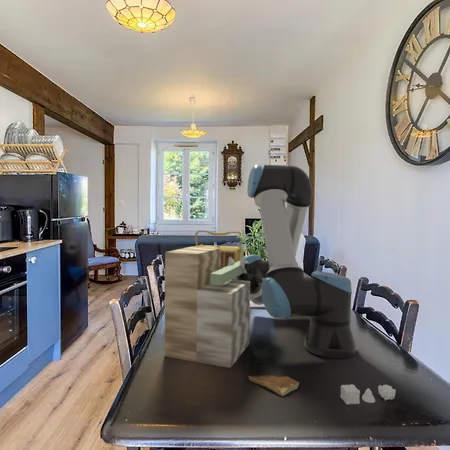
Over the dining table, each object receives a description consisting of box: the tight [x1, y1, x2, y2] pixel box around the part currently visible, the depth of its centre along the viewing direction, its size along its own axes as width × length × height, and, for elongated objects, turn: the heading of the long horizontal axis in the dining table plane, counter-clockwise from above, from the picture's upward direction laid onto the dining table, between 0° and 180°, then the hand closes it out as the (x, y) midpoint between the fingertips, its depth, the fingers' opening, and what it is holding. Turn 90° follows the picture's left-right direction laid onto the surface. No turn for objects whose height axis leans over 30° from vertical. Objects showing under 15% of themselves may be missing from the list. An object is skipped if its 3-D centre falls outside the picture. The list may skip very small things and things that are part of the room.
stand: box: [164, 245, 251, 369], centre depth 103 cm, size 18×20×30 cm
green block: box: [210, 261, 248, 285], centre depth 106 cm, size 26×3×3 cm, turn 160°
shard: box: [247, 374, 300, 397], centre depth 85 cm, size 11×8×2 cm
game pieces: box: [340, 384, 397, 406], centre depth 78 cm, size 12×3×3 cm, turn 97°
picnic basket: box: [194, 229, 245, 269], centre depth 207 cm, size 29×26×30 cm
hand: (235, 261), depth 110 cm, fingers closed on green block, 3 cm apart
